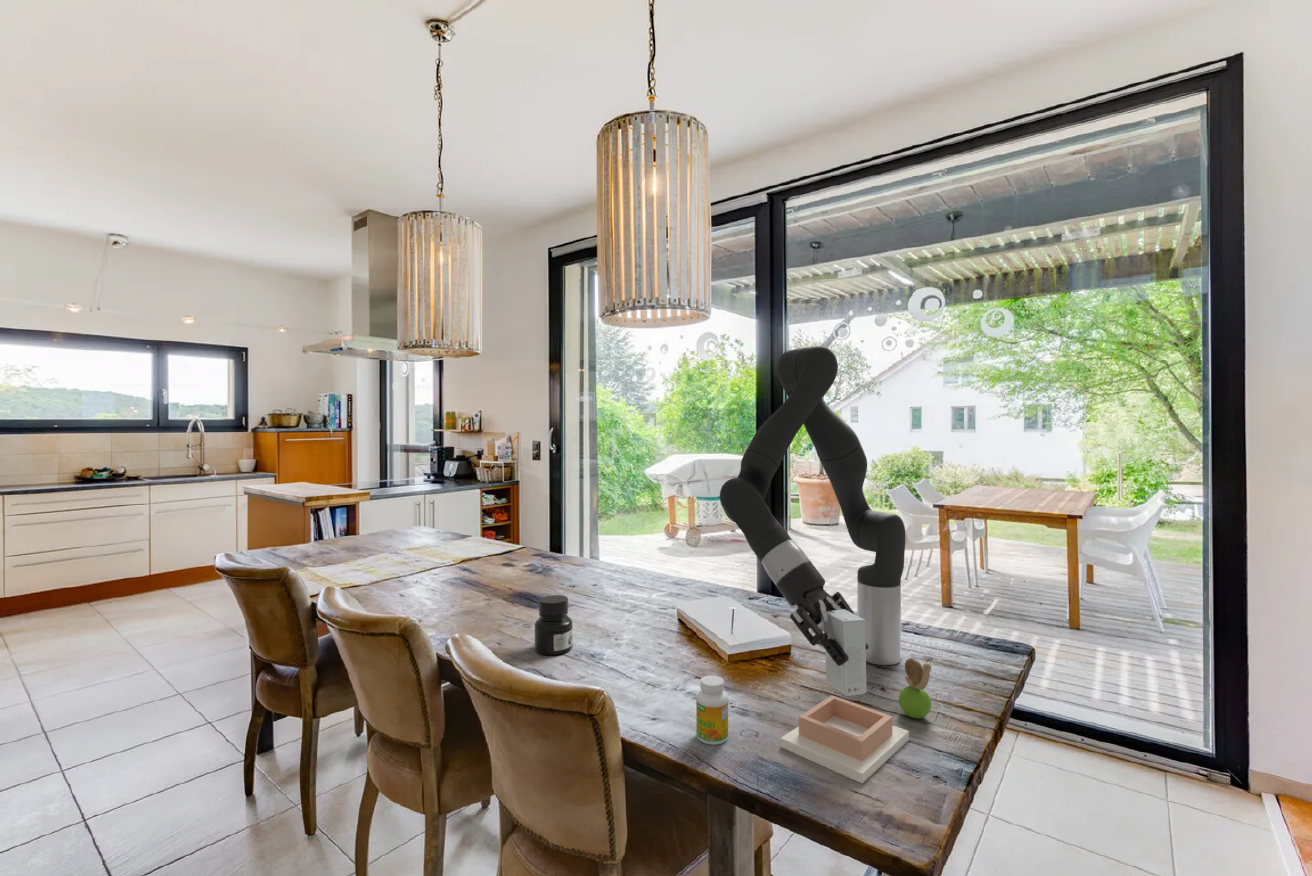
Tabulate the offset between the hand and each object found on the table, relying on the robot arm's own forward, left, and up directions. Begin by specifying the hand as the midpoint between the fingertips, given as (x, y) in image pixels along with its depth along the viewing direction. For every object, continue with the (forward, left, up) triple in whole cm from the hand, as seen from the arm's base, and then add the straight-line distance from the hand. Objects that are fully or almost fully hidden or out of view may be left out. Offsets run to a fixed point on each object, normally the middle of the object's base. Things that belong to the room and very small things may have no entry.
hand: (854, 656), depth 96 cm
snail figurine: (-17, +3, -15) cm, 23 cm away
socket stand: (0, -2, -15) cm, 15 cm away
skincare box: (0, -2, -6) cm, 6 cm away
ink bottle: (+10, -71, -15) cm, 73 cm away
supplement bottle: (+14, -19, -15) cm, 28 cm away
